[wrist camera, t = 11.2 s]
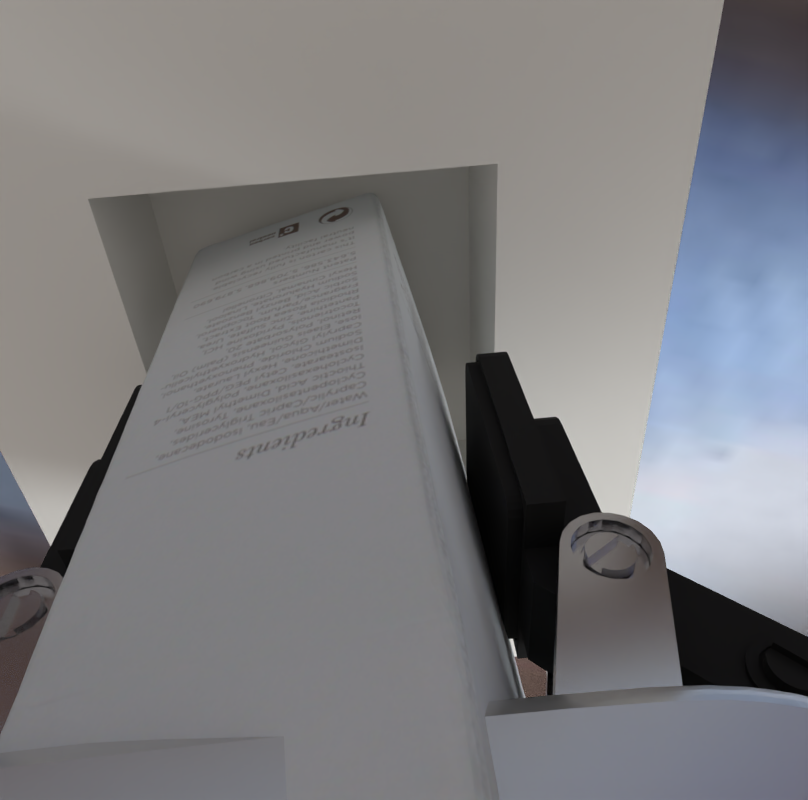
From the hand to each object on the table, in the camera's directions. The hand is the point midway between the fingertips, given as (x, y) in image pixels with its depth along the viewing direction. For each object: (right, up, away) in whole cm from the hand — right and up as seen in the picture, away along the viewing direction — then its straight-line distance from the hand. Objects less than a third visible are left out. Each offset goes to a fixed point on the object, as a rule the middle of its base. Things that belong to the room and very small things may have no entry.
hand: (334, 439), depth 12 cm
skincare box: (0, +2, +3) cm, 4 cm away
